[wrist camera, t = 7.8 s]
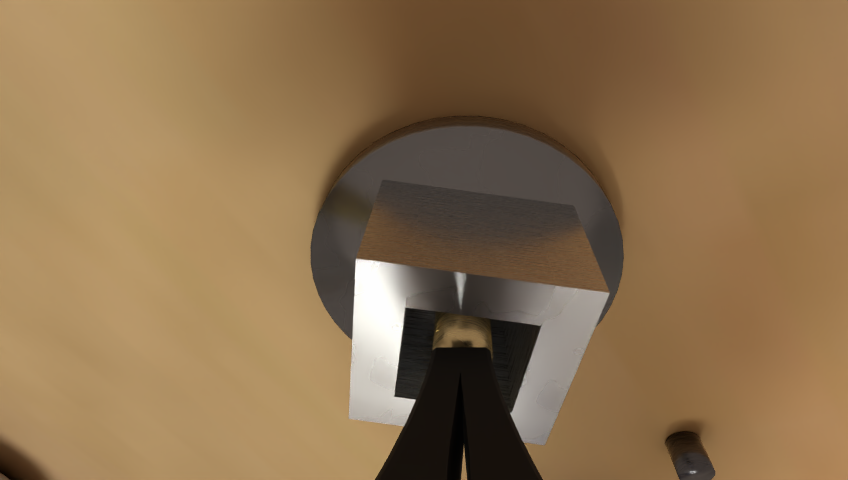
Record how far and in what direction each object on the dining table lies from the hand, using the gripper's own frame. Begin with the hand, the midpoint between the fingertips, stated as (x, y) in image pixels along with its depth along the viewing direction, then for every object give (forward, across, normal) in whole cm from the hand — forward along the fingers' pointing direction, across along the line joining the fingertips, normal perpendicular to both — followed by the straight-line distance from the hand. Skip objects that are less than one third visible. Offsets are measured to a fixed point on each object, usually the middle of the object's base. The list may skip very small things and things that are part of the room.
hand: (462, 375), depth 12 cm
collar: (+4, 0, 0) cm, 4 cm away
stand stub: (+5, -9, +10) cm, 15 cm away
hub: (+5, 0, 0) cm, 5 cm away
